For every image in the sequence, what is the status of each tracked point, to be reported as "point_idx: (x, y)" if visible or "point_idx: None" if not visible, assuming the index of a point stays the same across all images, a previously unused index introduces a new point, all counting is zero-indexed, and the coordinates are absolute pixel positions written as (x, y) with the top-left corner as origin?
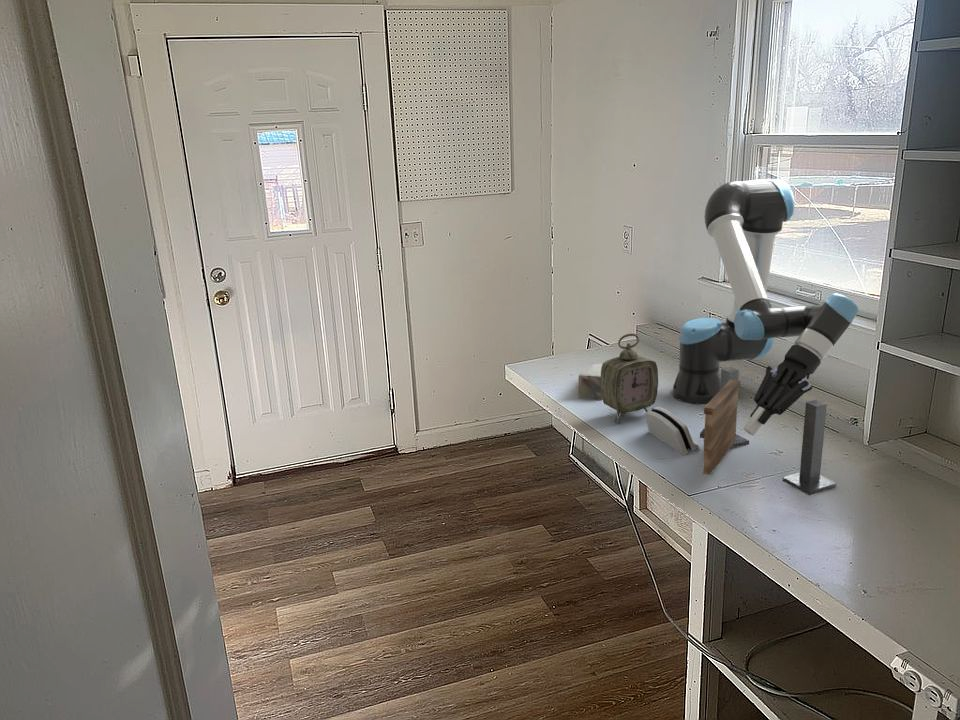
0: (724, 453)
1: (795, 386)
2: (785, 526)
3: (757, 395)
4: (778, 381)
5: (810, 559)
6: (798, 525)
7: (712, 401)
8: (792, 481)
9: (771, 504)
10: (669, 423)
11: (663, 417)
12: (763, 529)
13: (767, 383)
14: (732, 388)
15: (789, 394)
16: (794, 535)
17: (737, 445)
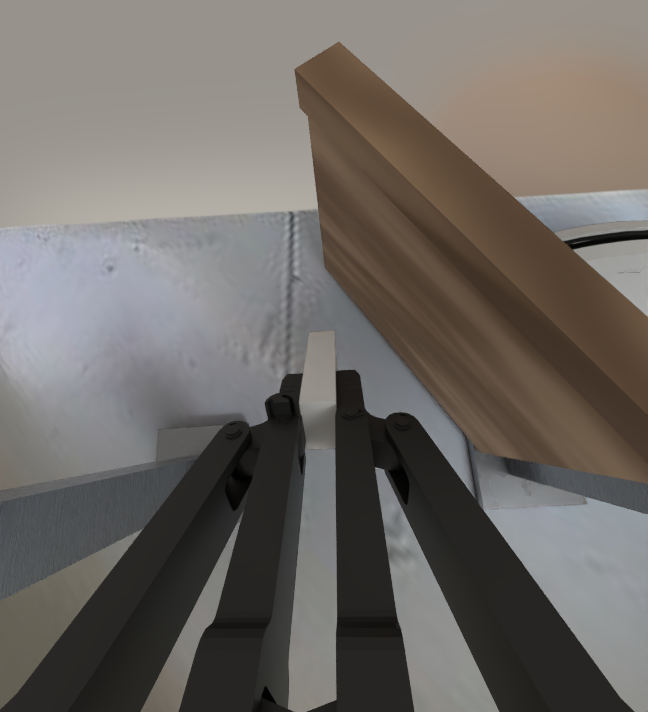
0: (405, 359)
1: (67, 694)
2: (107, 295)
3: (416, 443)
4: (337, 661)
5: (16, 263)
6: (96, 319)
7: (393, 108)
8: (216, 428)
9: (181, 327)
10: (572, 233)
11: (621, 227)
12: (123, 255)
13: (469, 591)
14: (566, 329)
15: (140, 557)
16: (78, 289)
17: (472, 458)
